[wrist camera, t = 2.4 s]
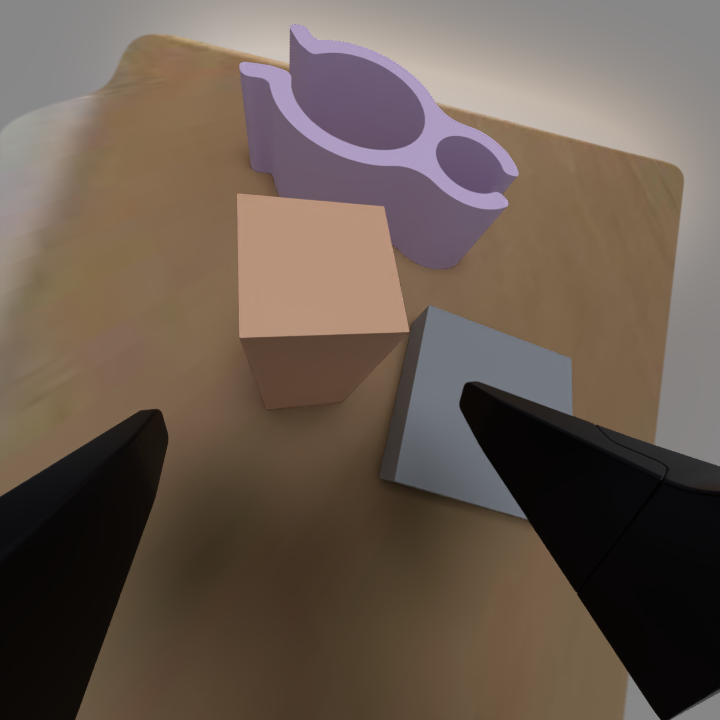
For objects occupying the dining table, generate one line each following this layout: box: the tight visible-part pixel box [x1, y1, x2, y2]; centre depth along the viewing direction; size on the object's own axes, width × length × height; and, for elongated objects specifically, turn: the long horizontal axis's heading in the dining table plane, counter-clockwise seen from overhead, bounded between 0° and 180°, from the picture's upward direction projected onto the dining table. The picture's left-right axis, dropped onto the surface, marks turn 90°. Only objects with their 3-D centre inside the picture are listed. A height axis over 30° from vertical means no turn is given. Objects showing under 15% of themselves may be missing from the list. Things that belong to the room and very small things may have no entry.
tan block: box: [237, 194, 409, 410], centre depth 15 cm, size 5×5×12 cm
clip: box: [239, 24, 519, 269], centre depth 24 cm, size 20×12×7 cm, turn 65°
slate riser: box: [379, 305, 572, 521], centre depth 21 cm, size 12×12×3 cm
